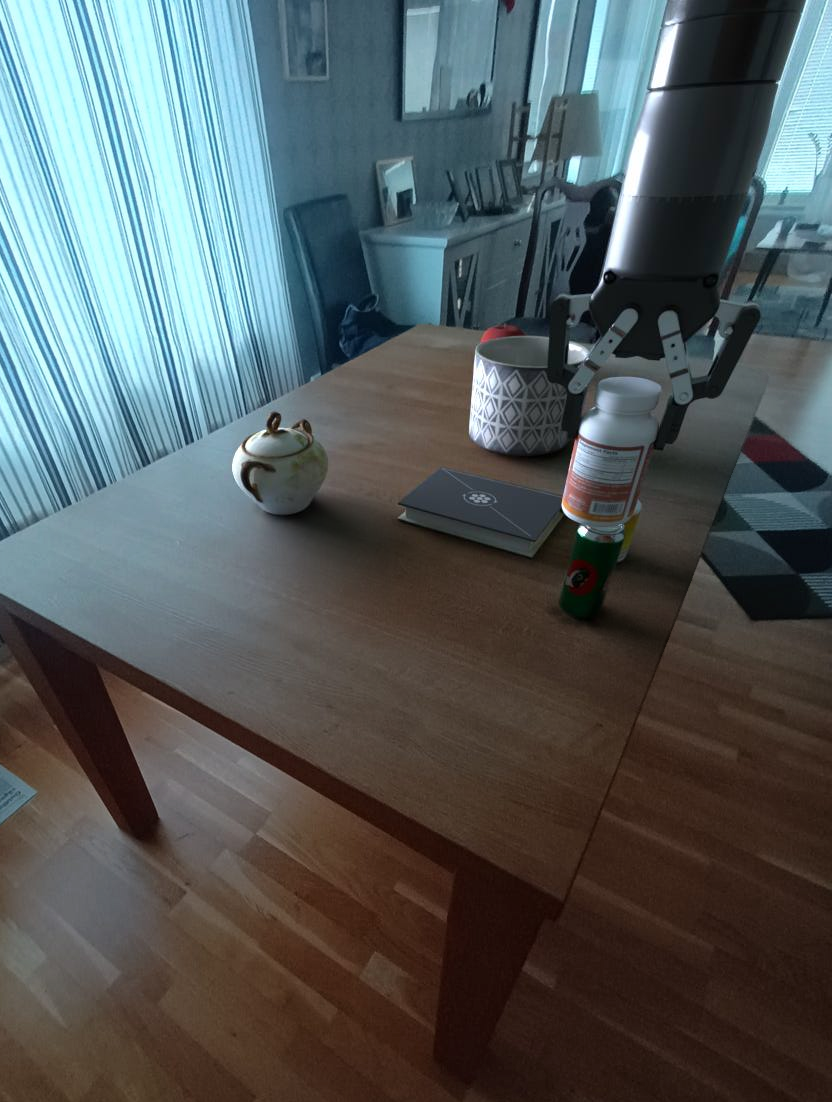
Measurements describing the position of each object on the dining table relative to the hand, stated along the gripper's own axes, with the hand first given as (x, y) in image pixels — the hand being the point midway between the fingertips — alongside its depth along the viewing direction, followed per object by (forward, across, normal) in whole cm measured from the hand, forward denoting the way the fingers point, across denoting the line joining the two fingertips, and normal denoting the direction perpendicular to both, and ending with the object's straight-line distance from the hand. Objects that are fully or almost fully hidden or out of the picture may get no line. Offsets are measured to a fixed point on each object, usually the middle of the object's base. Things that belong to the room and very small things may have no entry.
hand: (614, 440), depth 48 cm
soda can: (+26, +1, +11) cm, 28 cm away
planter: (+26, -17, +58) cm, 66 cm away
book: (+26, -16, +29) cm, 42 cm away
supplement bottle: (+26, +2, +25) cm, 36 cm away
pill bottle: (+7, 0, 0) cm, 7 cm away
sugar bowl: (+25, -47, +22) cm, 58 cm away
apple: (+25, -30, +98) cm, 105 cm away
